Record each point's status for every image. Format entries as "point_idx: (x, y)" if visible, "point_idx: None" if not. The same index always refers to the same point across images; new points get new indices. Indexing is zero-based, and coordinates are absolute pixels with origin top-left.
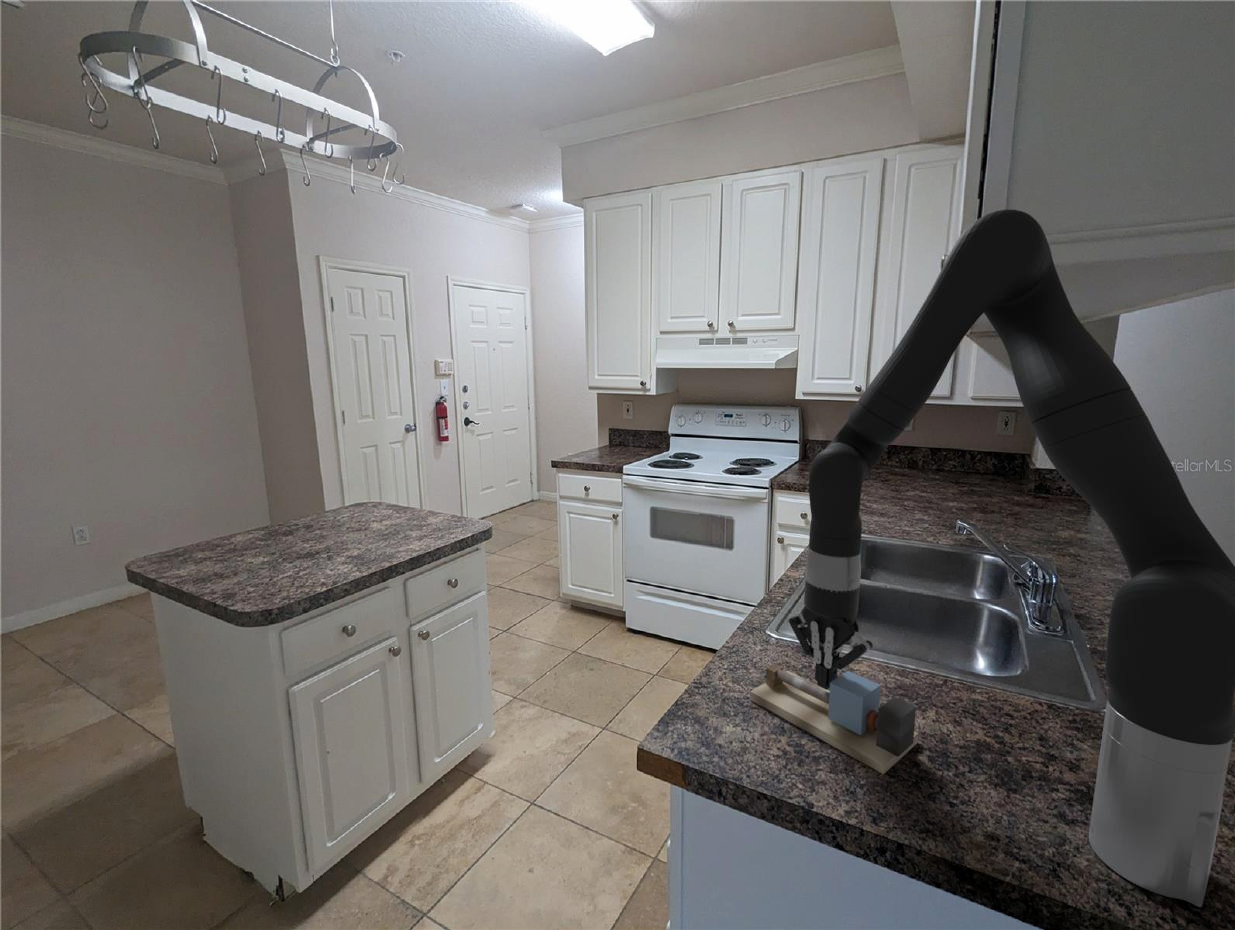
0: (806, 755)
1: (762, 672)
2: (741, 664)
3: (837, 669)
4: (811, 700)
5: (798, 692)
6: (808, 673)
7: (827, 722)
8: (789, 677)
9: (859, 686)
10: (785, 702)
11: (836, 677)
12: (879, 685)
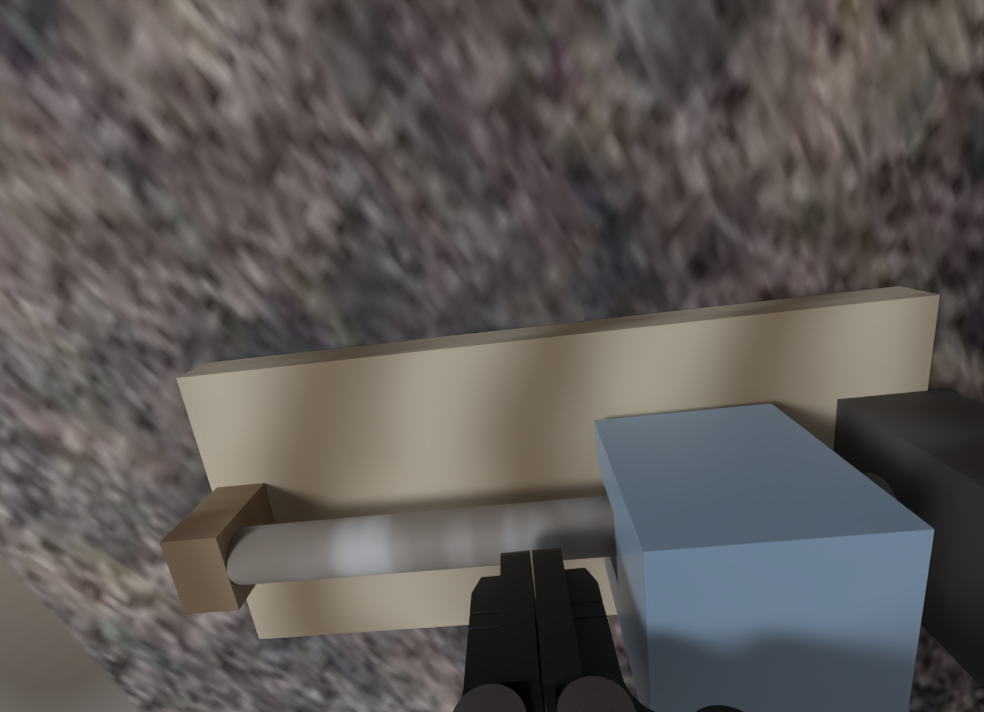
0: (627, 666)
1: (106, 409)
2: (4, 438)
3: (617, 664)
4: (450, 490)
5: (368, 486)
6: (205, 214)
7: (603, 560)
8: (316, 577)
9: (822, 659)
10: (400, 588)
11: (606, 618)
12: (929, 540)
